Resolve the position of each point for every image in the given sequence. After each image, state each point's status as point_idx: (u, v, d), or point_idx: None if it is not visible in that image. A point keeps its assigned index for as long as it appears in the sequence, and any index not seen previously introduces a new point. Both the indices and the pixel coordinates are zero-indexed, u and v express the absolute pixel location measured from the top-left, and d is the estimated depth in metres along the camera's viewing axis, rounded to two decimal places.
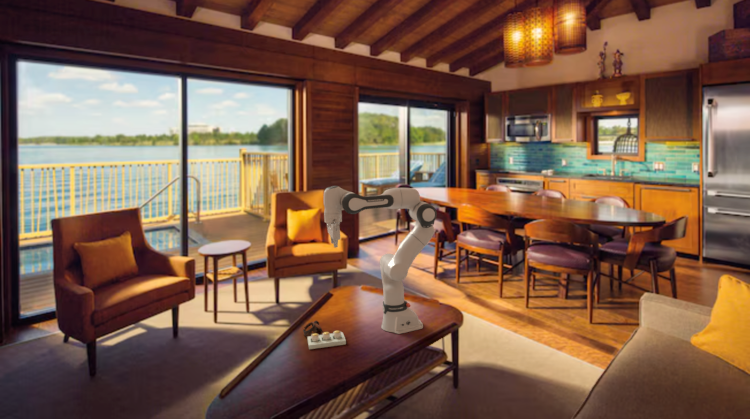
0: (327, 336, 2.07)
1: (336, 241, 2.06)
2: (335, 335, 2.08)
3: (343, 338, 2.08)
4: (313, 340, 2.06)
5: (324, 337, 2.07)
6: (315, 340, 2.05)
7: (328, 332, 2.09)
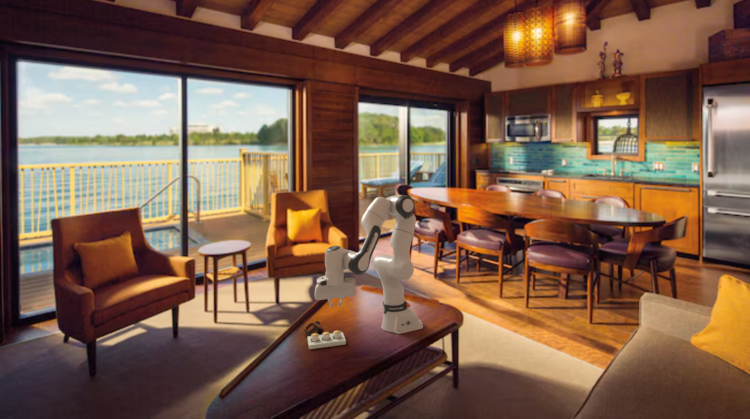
0: (327, 336, 2.07)
1: None
2: (335, 335, 2.08)
3: (343, 338, 2.08)
4: (313, 340, 2.06)
5: (324, 337, 2.07)
6: (315, 340, 2.05)
7: (328, 332, 2.09)
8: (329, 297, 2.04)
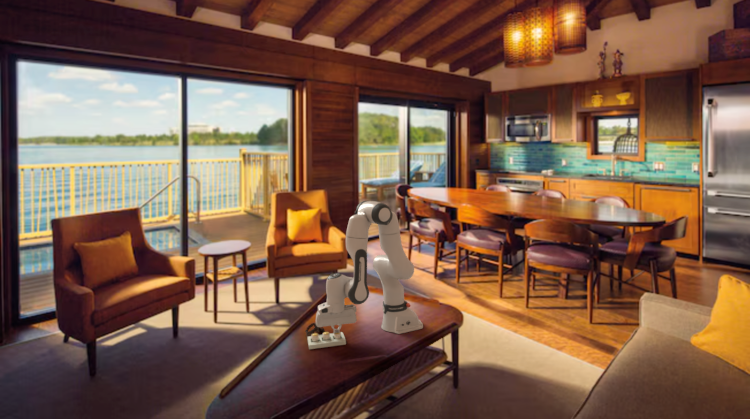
0: (327, 336, 2.07)
1: None
2: (335, 336, 2.08)
3: (343, 338, 2.08)
4: (313, 340, 2.06)
5: (324, 337, 2.07)
6: (315, 340, 2.05)
7: (328, 332, 2.09)
8: (330, 324, 2.06)
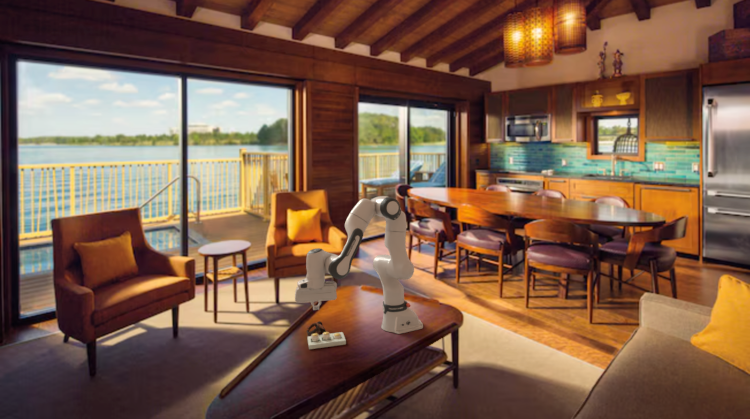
0: (327, 336, 2.07)
1: None
2: (335, 338, 2.08)
3: (343, 338, 2.08)
4: (313, 340, 2.06)
5: (324, 337, 2.07)
6: (315, 340, 2.05)
7: (328, 332, 2.09)
8: (309, 300, 2.02)
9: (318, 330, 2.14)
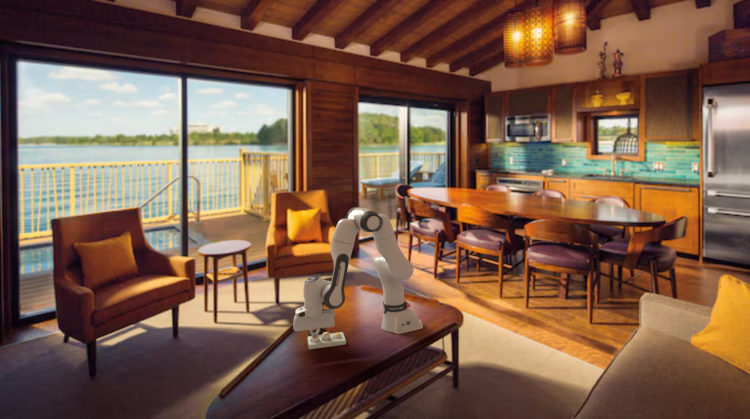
0: (327, 336, 2.07)
1: None
2: (335, 338, 2.08)
3: (343, 338, 2.08)
4: None
5: (324, 337, 2.07)
6: None
7: (328, 332, 2.09)
8: (308, 328, 2.04)
9: None
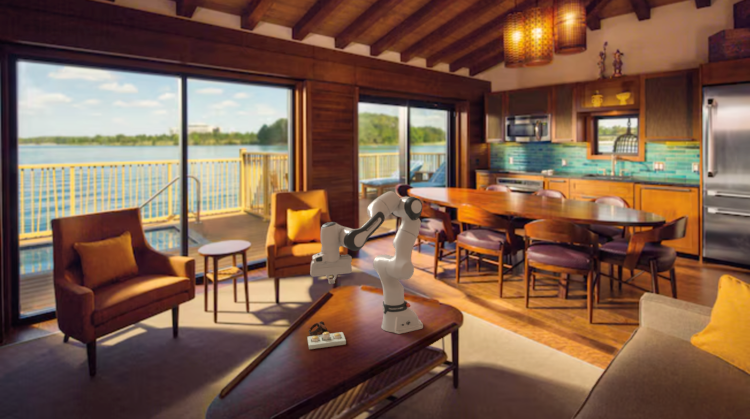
0: (327, 336, 2.07)
1: None
2: (335, 338, 2.08)
3: (343, 338, 2.08)
4: None
5: (324, 337, 2.07)
6: None
7: (328, 332, 2.09)
8: (325, 274, 2.02)
9: (320, 330, 2.13)
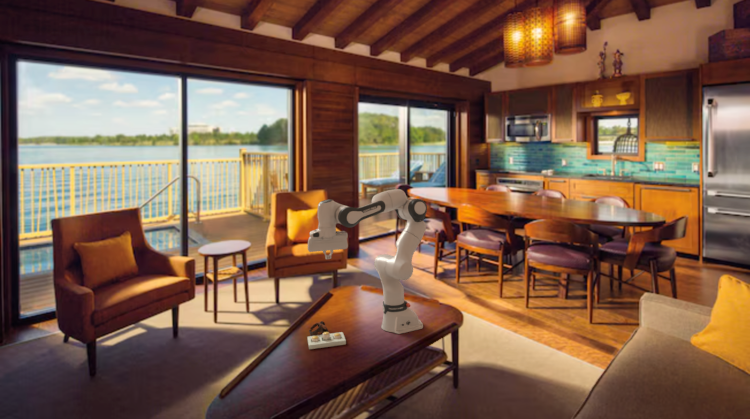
0: (327, 336, 2.07)
1: None
2: (335, 338, 2.08)
3: (343, 338, 2.08)
4: None
5: (324, 337, 2.07)
6: None
7: (328, 332, 2.09)
8: (322, 249, 2.10)
9: (320, 330, 2.14)
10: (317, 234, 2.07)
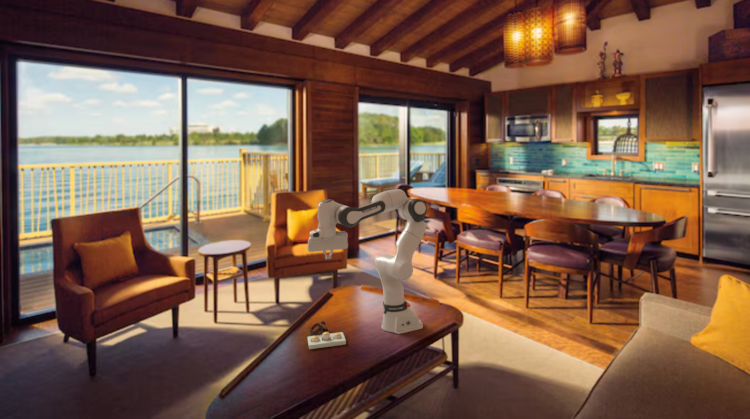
0: (327, 336, 2.07)
1: None
2: (335, 338, 2.08)
3: (343, 338, 2.08)
4: None
5: (324, 337, 2.07)
6: None
7: (328, 332, 2.09)
8: (322, 249, 2.10)
9: (321, 330, 2.14)
10: (317, 234, 2.07)
